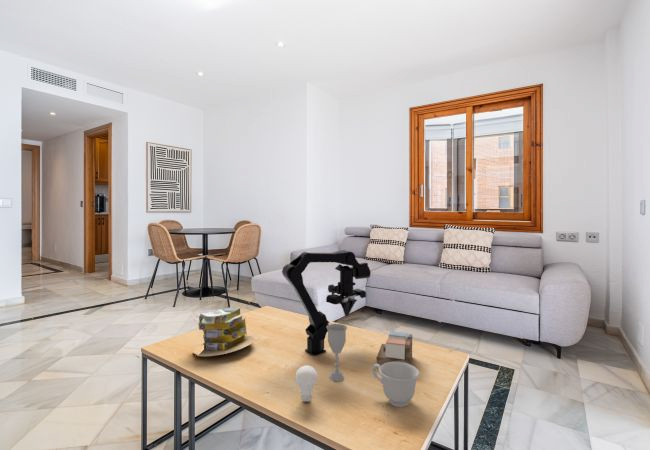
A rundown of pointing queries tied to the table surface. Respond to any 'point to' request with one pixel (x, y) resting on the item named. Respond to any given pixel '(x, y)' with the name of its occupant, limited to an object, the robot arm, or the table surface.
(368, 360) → the table surface
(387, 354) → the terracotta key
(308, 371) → the light bulb
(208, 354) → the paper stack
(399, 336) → the slate key
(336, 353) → the chalice
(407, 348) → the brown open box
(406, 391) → the teacup
